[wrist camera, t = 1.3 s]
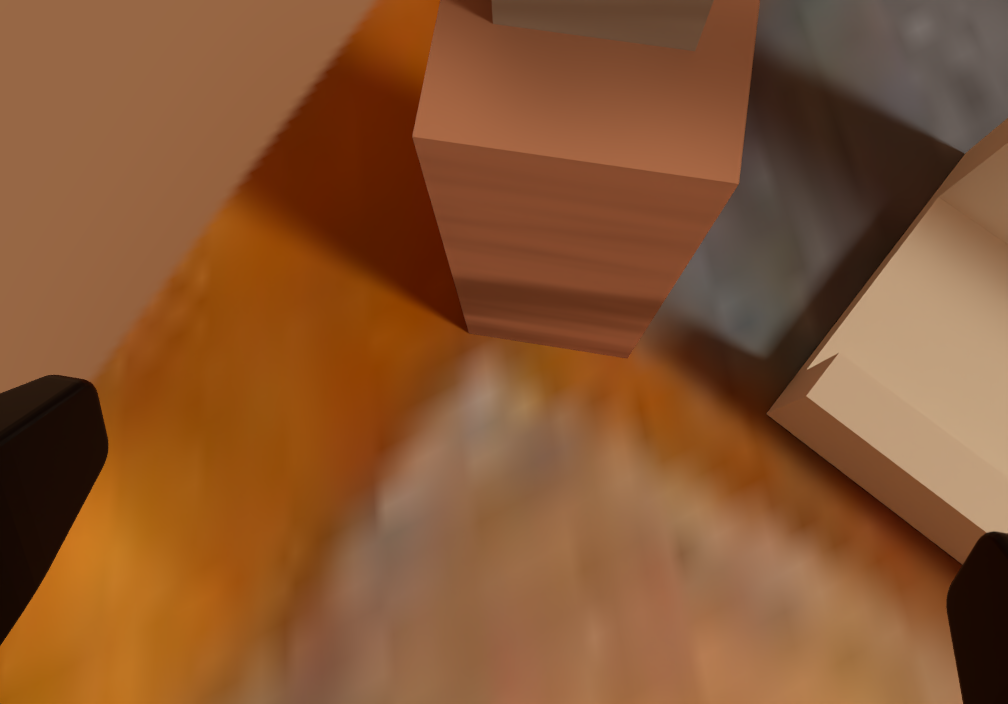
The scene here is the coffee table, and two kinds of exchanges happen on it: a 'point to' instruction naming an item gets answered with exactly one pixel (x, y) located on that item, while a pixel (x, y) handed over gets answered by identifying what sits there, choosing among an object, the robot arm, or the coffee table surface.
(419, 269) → the coffee table surface
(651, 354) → the coffee table surface
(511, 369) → the coffee table surface
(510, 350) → the coffee table surface
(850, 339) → the cleat board
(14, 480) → the robot arm
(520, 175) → the block
